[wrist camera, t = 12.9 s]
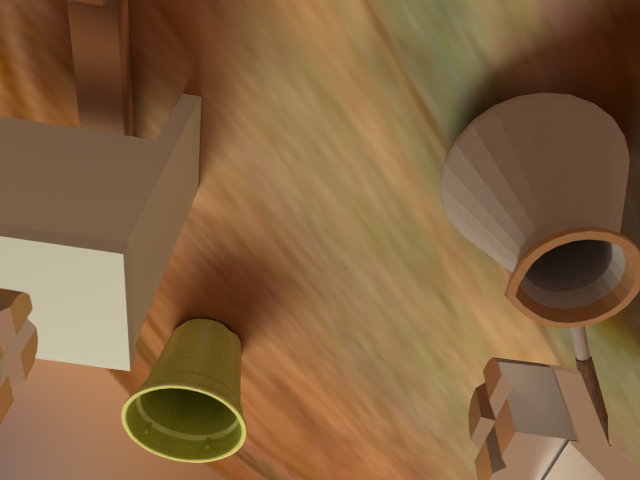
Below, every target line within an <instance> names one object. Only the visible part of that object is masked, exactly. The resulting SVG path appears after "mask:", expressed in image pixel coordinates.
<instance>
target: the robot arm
mask: <svg viewBox="0 0 640 480" xmlns="http://www.w3.org/2000/svg"><path fill="white" fill-rule="evenodd" d="M32 309H33V307H32V303H31V299H30V295H29V294H27V293H25V292H21V291H15V290H9V289H3V288H0V424H1V421H2V420H3V418H4V417H5V415H6V413H7V411H8V410H9V408H10V406H11V404H12V402H13V401H14V399H13V395H12V390H11V388H12V387H14V386H16V385H17V384H19V383H21V382H22V381H24V380H26V378H27V376H28V374H29V372H30V370H31V368H32V366H33V363H34V360H35V357H36V353H37V349H38V334H37V328H36V326H35V325H34V324H33V323H32V322H30V321H29V320H28V319H27V318H28V316H29V314H30V313H31V311H32ZM483 373H484V378H485V383H483V384H482V385H480V386H478V387H476V389H475V391H474V394H473V396H472V399H471V402H470V409H469V431H470V437H471V440H472V441H473V442H474V444H475V445H476V446H477V447H478V448H479V449H480V451H479V453H478V455H477V458H476V460H475V466H476V472H477V477H478V480H640V468H639V467H638V466H637V465H636V464H635V463H634V462H632V461H631V460H630V459H629V458H628V457H627V456H626V455H625V454H624V453H623V452H622V451H621V450H620V449H619V448H618V447H612V446H609V444H608V442H607V439H606V437H605V434H604V432H603V429H602V426H601V424H600V421H599V419H598V416H597V414H596V411H595V409H594V406H593V403H592V401H591V398H590V396H589V393H588V391H587V388H586V386H585V383H584V381H583V378H582V375H581V373H580V372H579V371H578V370H577V369H576V368H571V367H563V366H556V365H545V364H540V363H532V362H525V361H517V360H509V359H502V358H494V357H492V358H491V359H490V360H489V361H488V363H487V365H486V367H485V369H484V371H483Z"/></svg>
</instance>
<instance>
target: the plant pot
mask: <svg viewBox="0 0 640 480" xmlns="http://www.w3.org/2000/svg"><path fill="white" fill-rule="evenodd" d="M241 349H242V347H241V342H240V339H239V338H238V336H237V335H236V334H234V333H232V332H231V331H230V330H228V329H227V328H226V327H225V325H224V324H222V323H220V322H217V321H213V320H209V319H193V320H188V321H186V322H185V323H183V324H182V325H180V326H179V327H177V328H176V329H174V331H173V333H172V334H171V336H170V338H169V340H168V342H167V343H166V345H165V347H164V349H163V351H162V353H161V355H160V356H159V358H158V360H157V362H156V364H155V365H154V367H153V369H152V371H151V373H150V375H149V376H148V378H147V380H146V381H145V382H144V383H143V384H142V385H141V386H140V387H139V389H138V390H137V391H136V392H135V393H133V394H132V395H131V396H130V397H129V398H128V399H127V401H126V402H125V405H124V406H123V409H122V414H121V417H122V423H123V426H124V428H125V430H126V431H127V433H128V434H129V436H130V437H131V438H132V439H133V440H134V441H135V442H137V443H138V444H139V445H140V446H141V447H143V448H145V449H146V450H148V451H150V452H152V453H154V454H157V455H159V456H162V457H165V458H168V459H172V460H176V461H183V462H195V463H201V462H210V461H215V460H219V459H222V458H225V457H227V456H230V455H232V454H233V453H235V452H236V451H237V450H238V449H239V448H240V447H241V446H242V445H243V443H244V441H245V438H246V434H247V426H246V422H245V419H244V417H243V411H242V407H241V404H240V379H241Z"/></svg>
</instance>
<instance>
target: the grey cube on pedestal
mask: <svg viewBox="0 0 640 480" xmlns="http://www.w3.org/2000/svg"><path fill="white" fill-rule="evenodd" d="M200 124H201V96H196V95H190V94H182V96H181V97H180V99H179V101H178V102H177V104H176V106H175V108H174V109H173V111H172V113H171V115H170V116H169V118H168V120H167V121H166V123H165V125H164V127H163V128H162V130H161V132H160V134H159V135H158V137H157V139H156V140H151V139H145V138H138V137H132V136H125V135H119V134H113V133H106V132H100V131H93V130H87V129H80V128H74V127H67V126H61V125H54V124H48V123H41V122H35V121H28V120H22V119H16V118H9V117H3V116H0V288H3V289H9V290H15V291H21V292H25V293H27V294H29V295H30V299H31V303H32V307H33V309H32V311H31V313H30V314H29V316H28V318H27V319H28V320H29V321H30V322H32V323H33V324H34V325H35V326H36V328H37V334H38V349H37V353H36V357H35V358H38V359H45V360H53V361H60V362H67V363H75V364H82V365H89V366H97V367H104V368H111V369H118V370H126V371H130V370H131V368H132V365H133V363H134V360H135V350H134V347H135V344H136V342H137V339H138V337H139V334H140V332H141V329H142V327H143V324H144V322H145V319H146V317H147V314H148V312H149V309H150V307H151V304H152V302H153V299H154V297H155V295H156V292H157V290H158V287H159V285H160V282H161V280H162V277H163V275H164V272H165V270H166V267H167V265H168V262H169V260H170V257H171V255H172V252H173V250H174V247H175V245H176V242H177V240H178V237H179V235H180V233H181V230H182V228H183V225H184V223H185V220H186V218H187V215H188V213H189V210H190V208H191V205H192V203H193V200H194V198H195V195H196V193H197V190H198V186H199V155H200Z"/></svg>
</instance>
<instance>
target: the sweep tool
mask: <svg viewBox="0 0 640 480" xmlns="http://www.w3.org/2000/svg"><path fill="white" fill-rule="evenodd" d="M67 7H68V17H69V26H70V36H71V45H72V54H73V64H74V73H75V83H76V92H77V102H78V111H79V121H80V129H87V130H93V131H100V132H106V133H113V134H119V135H125V136H132V137H134V119H133V98H132V78H131V57H130V36H129V15H128V0H67Z"/></svg>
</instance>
